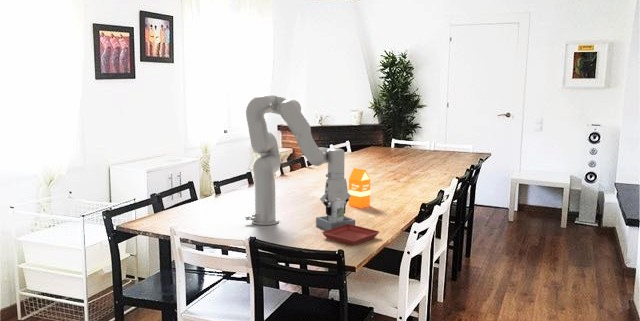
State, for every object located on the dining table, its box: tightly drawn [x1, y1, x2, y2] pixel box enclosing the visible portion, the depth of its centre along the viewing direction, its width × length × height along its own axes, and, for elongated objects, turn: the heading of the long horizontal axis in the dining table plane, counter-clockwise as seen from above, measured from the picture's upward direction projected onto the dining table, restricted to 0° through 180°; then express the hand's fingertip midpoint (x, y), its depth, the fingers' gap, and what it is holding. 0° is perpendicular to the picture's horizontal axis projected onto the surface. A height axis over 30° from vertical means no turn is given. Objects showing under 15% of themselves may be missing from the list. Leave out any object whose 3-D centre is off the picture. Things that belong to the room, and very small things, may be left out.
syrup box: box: [326, 198, 345, 223], centre depth 248 cm, size 6×6×14 cm
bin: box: [315, 215, 356, 231], centre depth 249 cm, size 13×13×4 cm
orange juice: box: [348, 167, 371, 209], centre depth 291 cm, size 8×9×20 cm
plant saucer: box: [321, 224, 380, 246], centre depth 232 cm, size 18×18×3 cm
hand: (335, 213), depth 248 cm, fingers closed on syrup box, 7 cm apart
